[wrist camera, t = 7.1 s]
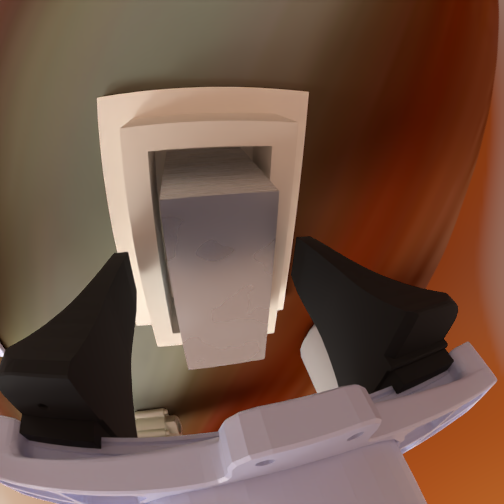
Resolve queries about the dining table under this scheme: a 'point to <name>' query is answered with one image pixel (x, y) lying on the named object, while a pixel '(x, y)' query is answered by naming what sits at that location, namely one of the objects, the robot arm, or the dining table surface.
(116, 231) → the hollow block
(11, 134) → the dining table surface
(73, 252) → the dining table surface
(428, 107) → the dining table surface
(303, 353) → the can
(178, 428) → the pneumatic valve
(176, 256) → the grey block
